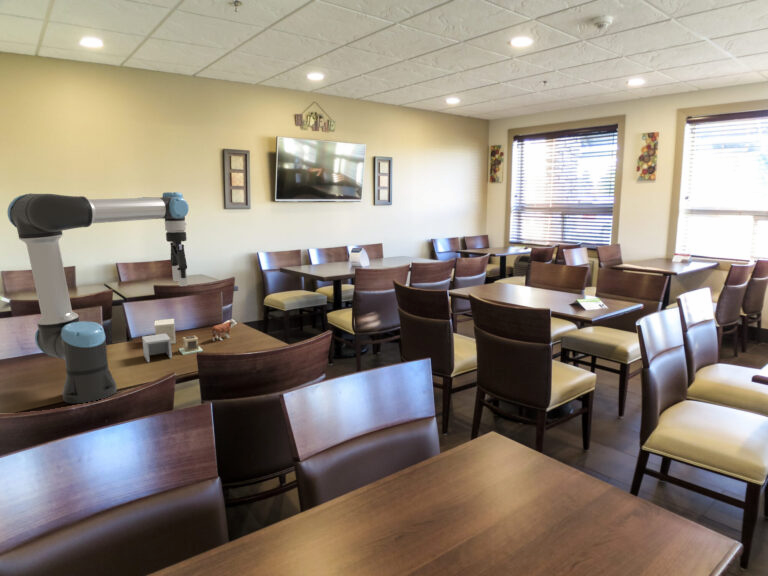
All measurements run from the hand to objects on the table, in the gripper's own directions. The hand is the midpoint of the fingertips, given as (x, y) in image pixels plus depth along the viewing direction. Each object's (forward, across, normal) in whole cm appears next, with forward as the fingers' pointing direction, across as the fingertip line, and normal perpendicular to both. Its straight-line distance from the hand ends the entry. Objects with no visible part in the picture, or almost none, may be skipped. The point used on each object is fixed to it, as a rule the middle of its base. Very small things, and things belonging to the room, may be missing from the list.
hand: (180, 283), depth 202 cm
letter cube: (+28, -1, -2) cm, 28 cm away
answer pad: (+29, -1, -2) cm, 29 cm away
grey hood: (+29, -2, +11) cm, 31 cm away
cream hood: (+24, +20, +8) cm, 33 cm away
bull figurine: (+29, +10, -19) cm, 36 cm away
